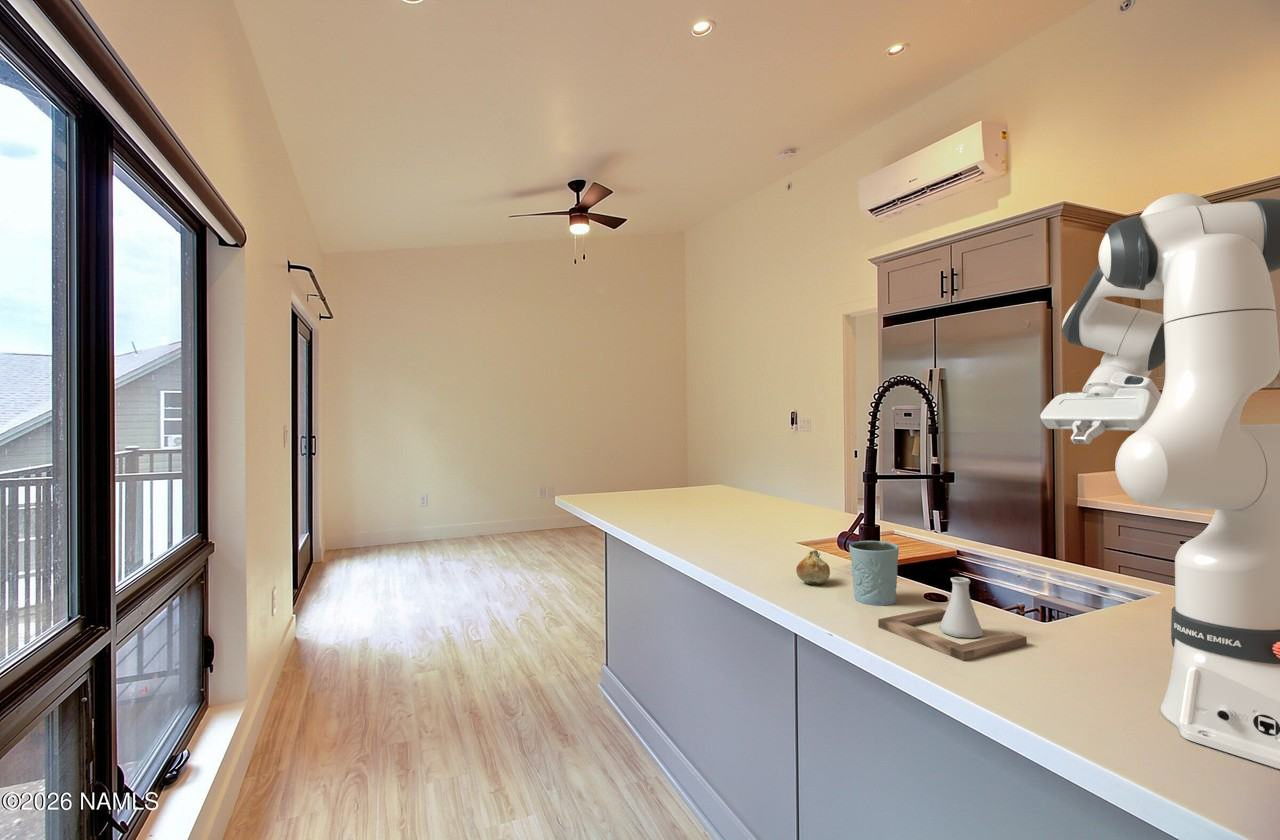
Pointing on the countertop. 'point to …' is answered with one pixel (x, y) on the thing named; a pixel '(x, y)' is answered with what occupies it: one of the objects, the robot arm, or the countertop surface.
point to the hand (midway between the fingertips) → (1079, 441)
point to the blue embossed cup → (874, 572)
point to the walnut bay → (963, 652)
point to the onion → (813, 569)
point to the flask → (960, 612)
